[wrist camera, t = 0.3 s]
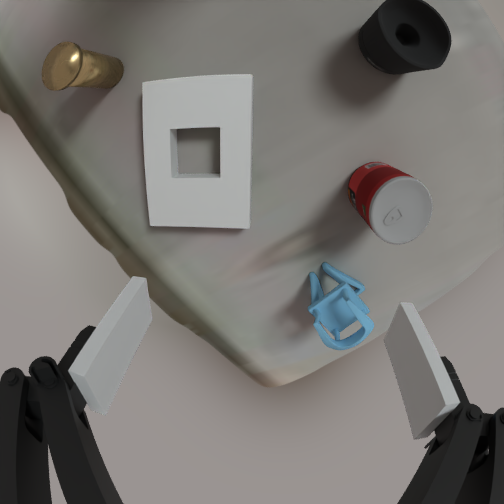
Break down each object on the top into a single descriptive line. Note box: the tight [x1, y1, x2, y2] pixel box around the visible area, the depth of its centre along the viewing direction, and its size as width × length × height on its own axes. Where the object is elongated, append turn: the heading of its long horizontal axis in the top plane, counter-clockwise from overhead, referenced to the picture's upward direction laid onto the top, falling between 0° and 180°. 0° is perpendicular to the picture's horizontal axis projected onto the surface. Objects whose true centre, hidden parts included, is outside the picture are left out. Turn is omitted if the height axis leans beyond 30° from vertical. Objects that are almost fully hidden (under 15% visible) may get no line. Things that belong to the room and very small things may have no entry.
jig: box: [143, 74, 254, 229], centre depth 36 cm, size 20×14×3 cm
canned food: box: [348, 162, 433, 244], centre depth 33 cm, size 8×8×11 cm
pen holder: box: [359, 0, 451, 74], centre depth 24 cm, size 9×9×10 cm
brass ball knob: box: [42, 42, 124, 90], centre depth 27 cm, size 6×6×12 cm
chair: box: [308, 262, 374, 350], centre depth 40 cm, size 8×8×12 cm
